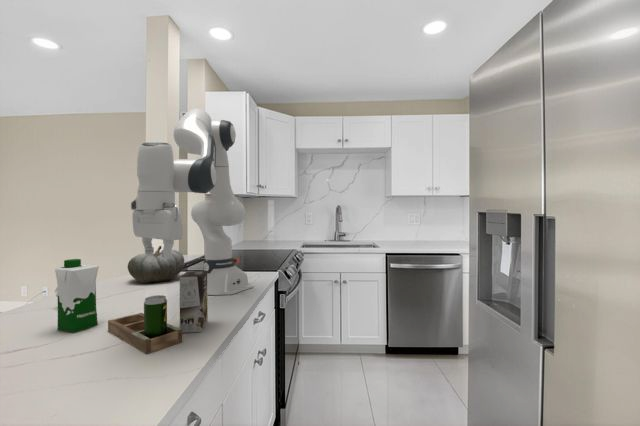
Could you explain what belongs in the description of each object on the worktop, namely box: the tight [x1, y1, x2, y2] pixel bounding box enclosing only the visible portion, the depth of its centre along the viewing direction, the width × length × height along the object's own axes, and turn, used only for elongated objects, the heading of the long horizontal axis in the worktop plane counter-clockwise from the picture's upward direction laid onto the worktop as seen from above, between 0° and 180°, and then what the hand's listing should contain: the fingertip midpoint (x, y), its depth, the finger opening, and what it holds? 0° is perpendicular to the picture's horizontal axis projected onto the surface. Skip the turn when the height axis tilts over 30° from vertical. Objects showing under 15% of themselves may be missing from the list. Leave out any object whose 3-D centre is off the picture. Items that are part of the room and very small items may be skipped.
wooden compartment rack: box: [107, 312, 183, 355], centre depth 90 cm, size 9×24×3 cm, turn 52°
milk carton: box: [54, 258, 100, 334], centre depth 97 cm, size 9×9×20 cm
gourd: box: [127, 245, 185, 284], centre depth 161 cm, size 25×25×17 cm
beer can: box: [143, 294, 168, 339], centre depth 85 cm, size 5×5×12 cm
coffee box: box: [179, 270, 209, 334], centre depth 97 cm, size 9×6×16 cm
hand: (157, 255), depth 86 cm, fingers open, 8 cm apart
